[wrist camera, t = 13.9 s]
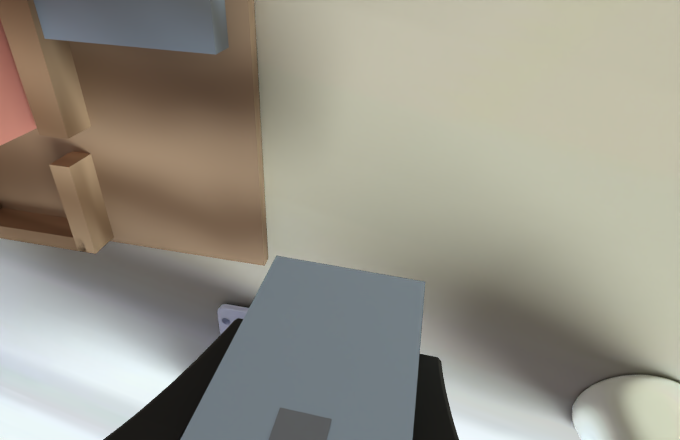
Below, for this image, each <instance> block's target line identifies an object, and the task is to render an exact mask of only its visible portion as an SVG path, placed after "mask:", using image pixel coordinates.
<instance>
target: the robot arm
mask: <svg viewBox="0 0 680 440" xmlns="http://www.w3.org/2000/svg"><path fill="white" fill-rule="evenodd" d="M248 309H249V308H246V307H241V306H235V305H229V304H223V305H221V306H220V307H219V309H218V310H217V315H218V322H219V329H220V336H219V337H218V338H217V339H216V340H215V341H214V342H213V343H212V344H211V345H210V347H209V348H208V349H207V350H206V351H205V352H204V353H203V354H202V355H201V356H200V357H199V358H198V359H197V360H196V361H194V362H193V363H192V364H191V365H190V366H189V367H188V368H187V369H186V370H185V371H184V372H183V373H182V374H181V375H180V376H179V377H178V378H177V379H176V380H175V381H173V382H172V383H171V384H170V385H169V386H168V387H167V388H166V389H165V390H163V391H162V392H161V393H160V394H159V395H158V396H157V397H155V398H154V399H153V400H152V401H151V402H150V403H149V404H147V405H146V406H145V407H144V408H143V409H142V410H140V411H139V412H138V413H137V414H135V415H134V416H133V417H132V418H131V419H129V420H128V421H127V422H126V423H124V424H123V425H122V426H120V427H119V428H118V429H117V430H115V431H114V432H113V433H111V434H110V435H109V436H107V437H106V438H105V439H103V440H180V439H181V437H182V436H183V434H184V432H185V430H186V428H187V426H188V424H189V422H190V420H191V418H192V416H193V415H194V413H195V411H196V409H197V407H198V405H199V403H200V401H201V399H202V397H203V395H204V393H205V392H206V390H207V388H208V386H209V384H210V382H211V380H212V378H213V376H214V374H215V372H216V371H217V369H218V367H219V365H220V363H221V361H222V359H223V357H224V355H225V353H226V351H227V349H228V348H229V346H230V344H231V342H232V340H233V338H234V336H235V334H236V332H237V330H238V328H239V327H240V325H241V323H242V321H243V319H244V317H245V315H246V313H247V311H248ZM226 318H227V319H226ZM228 319H229V320H228ZM413 440H459V439H458V435H457V432H456V429H455V425H454V422H453V418H452V414H451V411H450V406H449V402H448V398H447V394H446V389H445V384H444V379H443V372H442V364H441V361H440V359H439V358H438V357H433V356H428V355H423V354H419V366H418V378H417V391H416V403H415V415H414V427H413Z"/></svg>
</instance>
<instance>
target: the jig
mask: <svg viewBox="0 0 680 440" xmlns="http://www.w3.org/2000/svg"><path fill="white" fill-rule="evenodd" d="M0 19H1V22H2V25H3V28H4V31H5V34H6V37H7V40H8V43H9V46H10V49H11V52H12V55H13V58H14V61H15V64H16V67H17V70H18V73H19V76H20V79H21V82H22V85H23V88H24V91H25V94H26V97H27V100H28V103H29V106H30V109H31V112H32V115H33V118H34V121H35V124H36V127H37V128H36V129H34V130H32V131H30V132H28V133H26V134H24V135H22V136H19V137H17V138H15V139H13V140H11V141H9V142H7V143H5V144H3V145H1V146H0V238H3V239H9V240H15V241H21V242H27V243H34V244H40V245H46V246H52V247H58V248H64V249H70V250H76V251H82V252H88V253H94V254H96V253H97V252H98V251H99V250H101V249H102V248H103V247H104V246H105V245H106V244H107V243H108V242H109V241H113V242H119V243H126V244H132V245H138V246H144V247H151V248H157V249H163V250H169V251H176V252H182V253H188V254H194V255H201V256H207V257H213V258H219V259H226V260H232V261H238V262H244V263H251V264H257V265H263V266H264V265H265V264H266V262H267V260H268V246H267V228H266V210H265V192H264V173H263V155H262V137H261V119H260V101H259V82H258V64H257V46H256V28H255V10H254V0H0Z"/></svg>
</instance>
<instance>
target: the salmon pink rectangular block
mask: <svg viewBox="0 0 680 440" xmlns="http://www.w3.org/2000/svg"><path fill="white" fill-rule="evenodd" d="M36 128H37V127H36V124H35V121H34V118H33V115H32V112H31V109H30V106H29V103H28V100H27V97H26V94H25V91H24V88H23V85H22V82H21V79H20V76H19V73H18V70H17V67H16V64H15V61H14V58H13V55H12V52H11V49H10V46H9V43H8V40H7V37H6V34H5V31H4V28H3V25H2V22H1V19H0V146H1V145H3V144H5V143H7V142H9V141H11V140H13V139H15V138H17V137H19V136H22V135H24V134H26V133H28V132H30V131H32V130H34V129H36Z"/></svg>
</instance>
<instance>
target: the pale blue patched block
mask: <svg viewBox="0 0 680 440" xmlns="http://www.w3.org/2000/svg"><path fill="white" fill-rule="evenodd" d="M424 292H425V282H424V281H418V280H412V279H407V278H401V277H395V276H389V275H384V274H378V273H372V272H367V271H361V270H355V269H349V268H344V267H338V266H332V265H327V264H321V263H315V262H309V261H304V260H298V259H292V258H287V257H281V256H276V258H275V260H274V261H273V263H272V265H271V267H270V269H269V271H268V273H267V275H266V277H265V279H264V281H263V282H262V284H261V286H260V288H259V290H258V292H257V294H256V296H255V298H254V300H253V302H252V304H251V305H250V307H249V309H248V311H247V313H246V315H245V317H244V319H243V321H242V323H241V325H240V327H239V328H238V330H237V332H236V334H235V336H234V338H233V340H232V342H231V344H230V346H229V348H228V349H227V351H226V353H225V355H224V357H223V359H222V361H221V363H220V365H219V367H218V369H217V371H216V372H215V374H214V376H213V378H212V380H211V382H210V384H209V386H208V388H207V390H206V392H205V393H204V395H203V397H202V399H201V401H200V403H199V405H198V407H197V409H196V411H195V413H194V415H193V416H192V418H191V420H190V422H189V424H188V426H187V428H186V430H185V432H184V434H183V436H182V437H181V439H180V440H413V427H414V415H415V403H416V391H417V378H418V366H419V354H420V341H421V329H422V317H423V305H424Z"/></svg>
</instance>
